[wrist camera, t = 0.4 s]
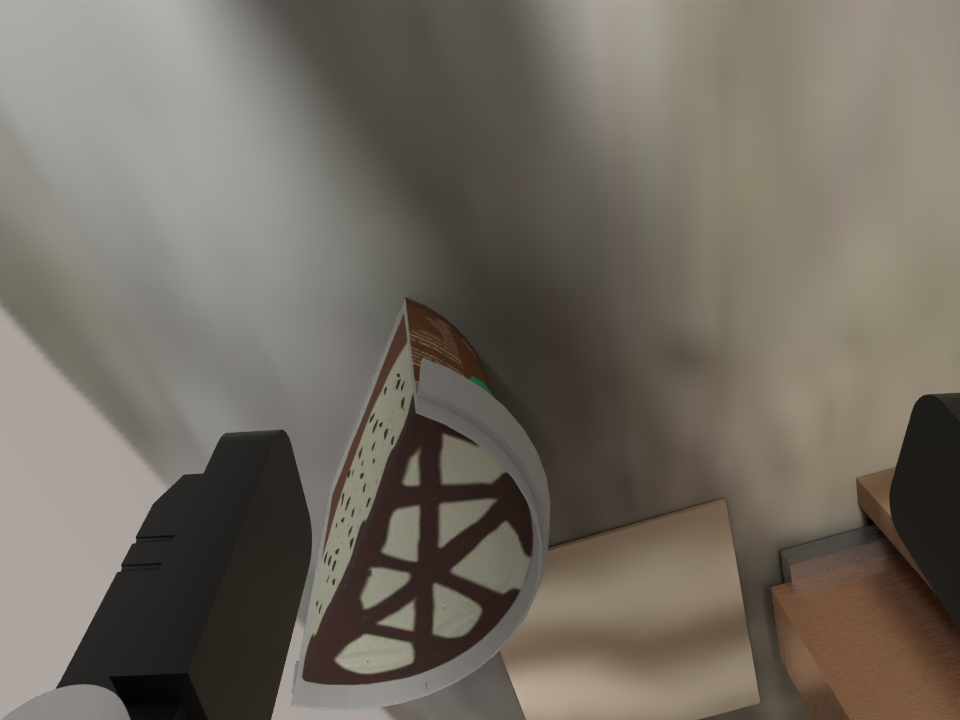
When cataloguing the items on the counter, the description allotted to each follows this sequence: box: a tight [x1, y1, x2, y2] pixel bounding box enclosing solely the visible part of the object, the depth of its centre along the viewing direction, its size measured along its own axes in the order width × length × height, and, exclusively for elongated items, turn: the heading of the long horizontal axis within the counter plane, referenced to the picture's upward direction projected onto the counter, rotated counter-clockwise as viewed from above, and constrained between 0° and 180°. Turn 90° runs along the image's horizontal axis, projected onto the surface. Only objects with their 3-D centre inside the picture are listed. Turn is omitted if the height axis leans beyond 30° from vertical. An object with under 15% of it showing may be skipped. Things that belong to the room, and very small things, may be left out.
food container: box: [292, 298, 551, 710], centre depth 27 cm, size 12×6×10 cm, turn 158°
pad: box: [500, 498, 760, 720], centre depth 38 cm, size 14×12×1 cm
